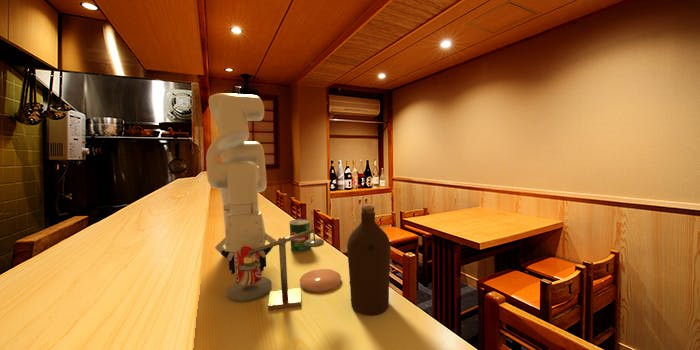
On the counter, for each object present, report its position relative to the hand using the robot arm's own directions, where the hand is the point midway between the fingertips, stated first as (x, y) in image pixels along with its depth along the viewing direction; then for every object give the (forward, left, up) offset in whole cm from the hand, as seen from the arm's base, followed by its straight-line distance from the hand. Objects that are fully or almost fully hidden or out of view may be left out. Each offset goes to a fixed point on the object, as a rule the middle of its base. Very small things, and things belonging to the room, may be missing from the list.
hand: (248, 270), depth 79 cm
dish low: (0, 0, -6) cm, 6 cm away
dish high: (0, +20, -6) cm, 21 cm away
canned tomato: (-29, +15, -6) cm, 33 cm away
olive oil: (+15, +31, -6) cm, 35 cm away
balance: (+8, +10, -6) cm, 14 cm away
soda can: (0, 0, -4) cm, 4 cm away
